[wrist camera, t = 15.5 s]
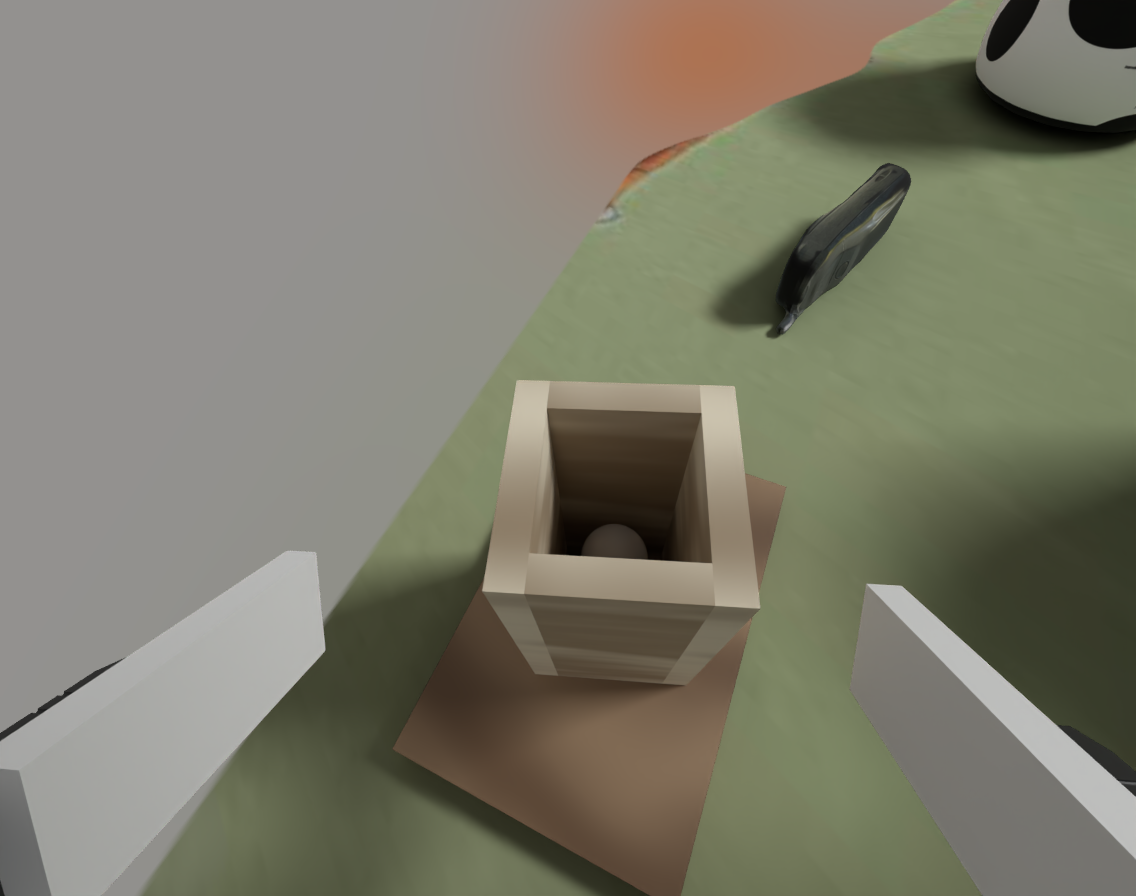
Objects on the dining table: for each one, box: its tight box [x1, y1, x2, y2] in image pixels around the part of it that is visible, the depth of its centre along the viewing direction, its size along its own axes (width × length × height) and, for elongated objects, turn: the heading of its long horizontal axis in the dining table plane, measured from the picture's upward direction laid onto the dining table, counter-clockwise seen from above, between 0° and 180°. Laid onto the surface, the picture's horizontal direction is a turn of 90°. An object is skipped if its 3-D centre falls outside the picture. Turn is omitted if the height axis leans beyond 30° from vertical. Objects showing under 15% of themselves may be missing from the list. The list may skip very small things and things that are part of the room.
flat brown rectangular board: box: [393, 473, 786, 896], centre depth 21 cm, size 18×12×9 cm, turn 156°
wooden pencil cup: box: [482, 380, 760, 685], centre depth 19 cm, size 6×6×12 cm
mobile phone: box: [776, 163, 911, 334], centre depth 35 cm, size 5×3×15 cm
